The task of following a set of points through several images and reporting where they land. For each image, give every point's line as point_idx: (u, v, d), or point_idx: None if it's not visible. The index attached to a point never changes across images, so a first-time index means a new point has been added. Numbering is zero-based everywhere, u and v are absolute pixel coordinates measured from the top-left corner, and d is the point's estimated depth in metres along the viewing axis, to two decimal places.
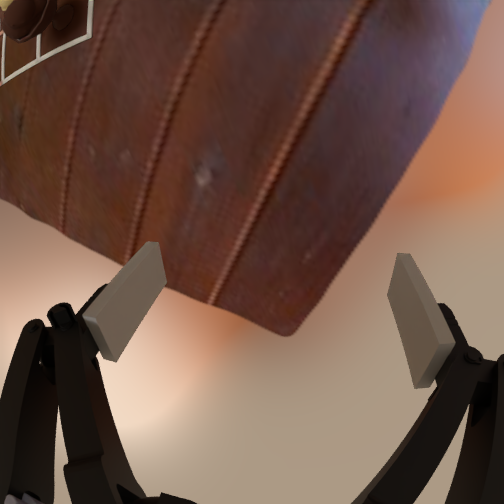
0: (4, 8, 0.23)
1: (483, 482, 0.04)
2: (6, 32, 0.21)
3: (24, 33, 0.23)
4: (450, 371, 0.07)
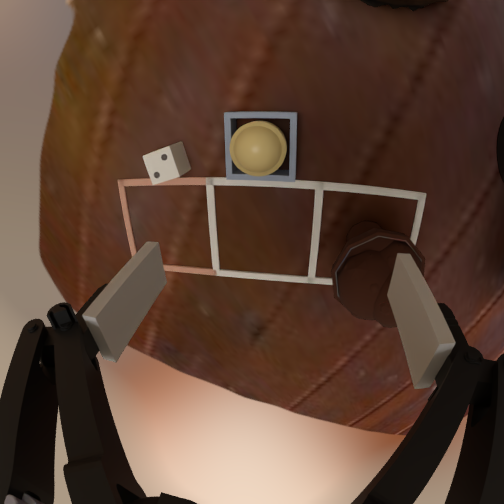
0: (248, 170, 0.30)
1: (482, 482, 0.04)
2: (360, 317, 0.29)
3: None
4: (450, 371, 0.07)
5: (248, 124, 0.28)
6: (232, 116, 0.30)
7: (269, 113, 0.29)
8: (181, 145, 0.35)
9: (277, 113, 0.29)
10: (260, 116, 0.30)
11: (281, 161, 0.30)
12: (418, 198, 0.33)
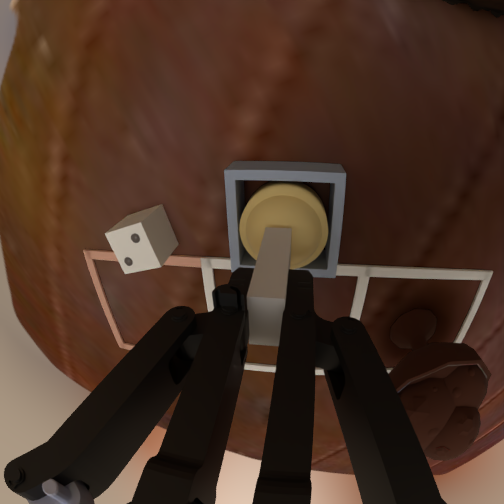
0: None
1: (378, 456, 0.05)
2: None
3: None
4: (281, 334, 0.10)
5: (269, 192, 0.18)
6: (238, 177, 0.19)
7: (301, 173, 0.18)
8: (161, 212, 0.24)
9: (314, 174, 0.18)
10: (285, 178, 0.19)
11: (320, 249, 0.20)
12: (483, 278, 0.22)
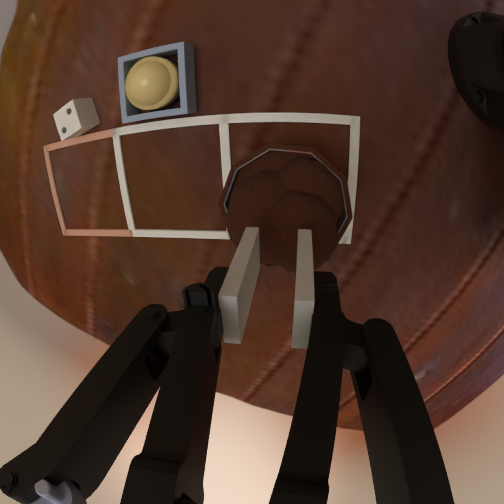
0: (141, 104, 0.26)
1: (398, 456, 0.05)
2: None
3: None
4: (310, 336, 0.10)
5: (140, 61, 0.24)
6: (124, 59, 0.24)
7: (157, 48, 0.23)
8: (90, 100, 0.29)
9: (165, 46, 0.23)
10: (149, 53, 0.24)
11: (171, 90, 0.25)
12: (349, 123, 0.27)
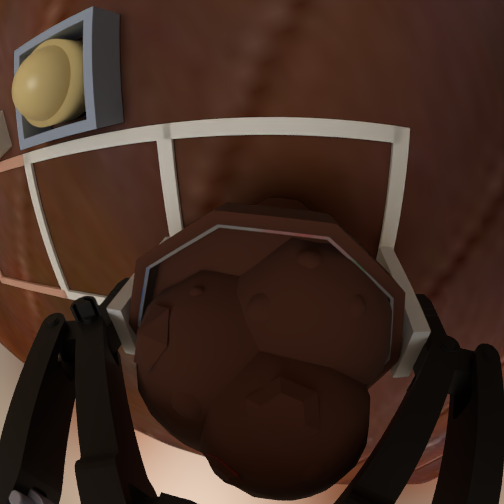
0: (34, 120, 0.13)
1: (470, 475, 0.04)
2: None
3: None
4: (426, 361, 0.08)
5: (35, 50, 0.11)
6: (21, 51, 0.11)
7: (58, 25, 0.10)
8: None
9: (67, 20, 0.10)
10: (48, 35, 0.11)
11: (71, 90, 0.12)
12: (392, 139, 0.14)
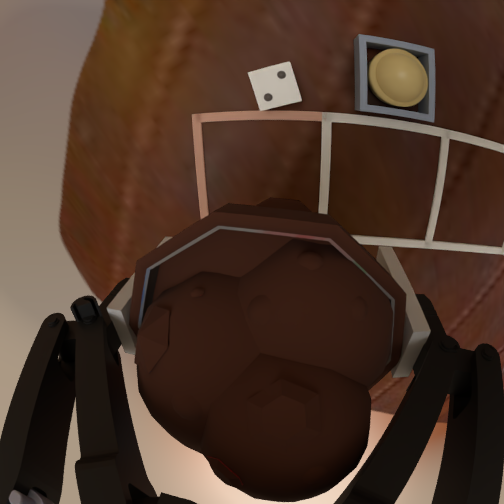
0: (392, 98, 0.22)
1: (469, 475, 0.04)
2: None
3: None
4: (426, 361, 0.08)
5: (391, 50, 0.20)
6: (368, 39, 0.20)
7: (408, 44, 0.19)
8: None
9: (416, 45, 0.19)
10: (399, 45, 0.20)
11: (423, 93, 0.21)
12: None
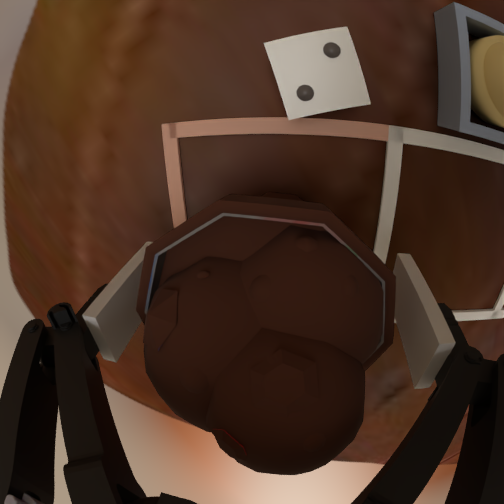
0: None
1: (483, 482, 0.04)
2: None
3: None
4: (450, 371, 0.07)
5: (500, 37, 0.08)
6: (468, 14, 0.08)
7: None
8: None
9: None
10: None
11: None
12: None
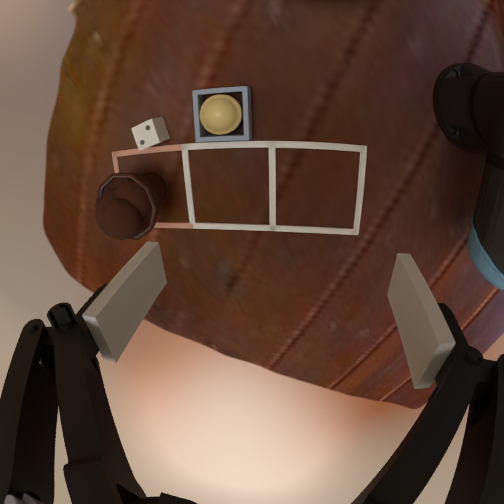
0: (214, 130, 0.39)
1: (483, 482, 0.04)
2: (107, 234, 0.40)
3: None
4: (450, 371, 0.07)
5: (212, 97, 0.37)
6: (198, 93, 0.37)
7: (226, 88, 0.36)
8: (162, 119, 0.42)
9: (232, 88, 0.36)
10: (219, 91, 0.37)
11: (237, 122, 0.38)
12: (359, 150, 0.40)
